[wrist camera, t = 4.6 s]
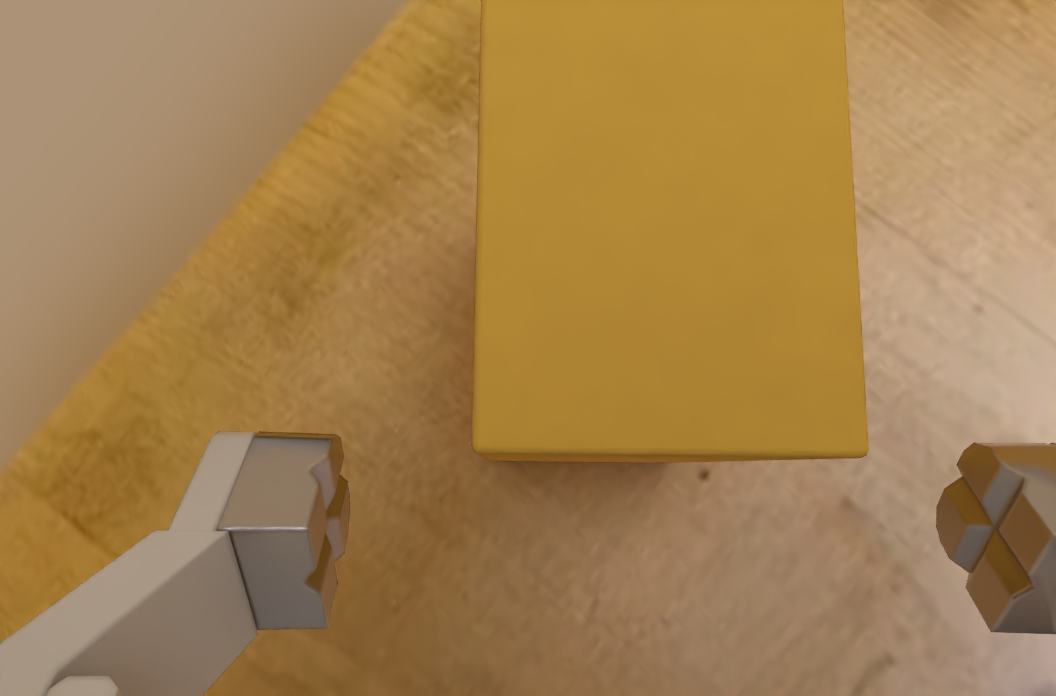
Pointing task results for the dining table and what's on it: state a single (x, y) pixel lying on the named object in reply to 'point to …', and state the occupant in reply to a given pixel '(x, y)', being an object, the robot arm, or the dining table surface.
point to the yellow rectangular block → (666, 233)
